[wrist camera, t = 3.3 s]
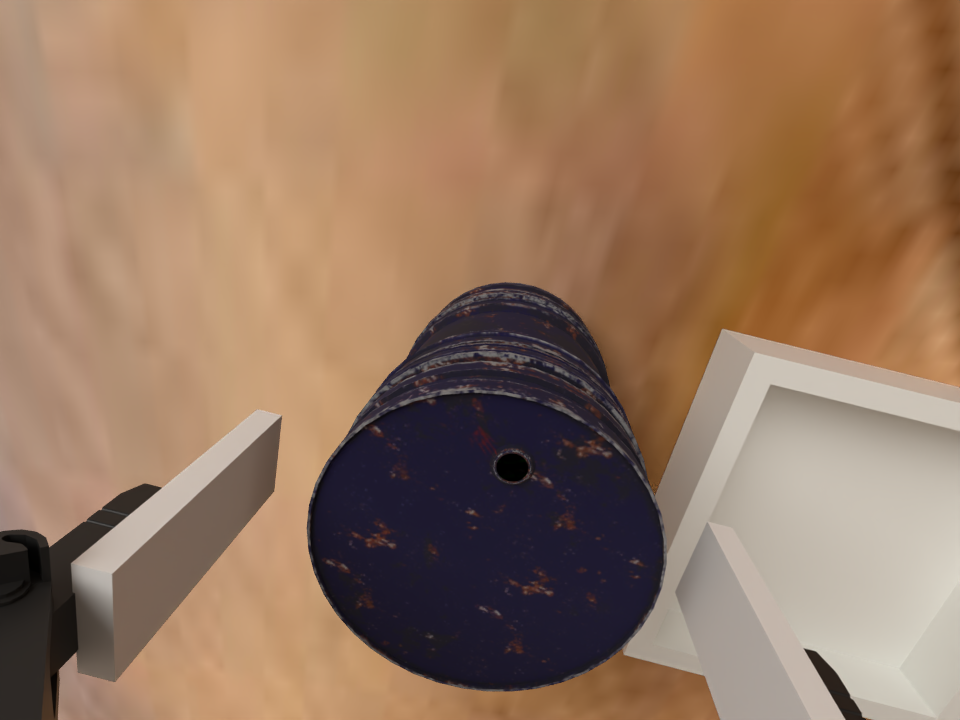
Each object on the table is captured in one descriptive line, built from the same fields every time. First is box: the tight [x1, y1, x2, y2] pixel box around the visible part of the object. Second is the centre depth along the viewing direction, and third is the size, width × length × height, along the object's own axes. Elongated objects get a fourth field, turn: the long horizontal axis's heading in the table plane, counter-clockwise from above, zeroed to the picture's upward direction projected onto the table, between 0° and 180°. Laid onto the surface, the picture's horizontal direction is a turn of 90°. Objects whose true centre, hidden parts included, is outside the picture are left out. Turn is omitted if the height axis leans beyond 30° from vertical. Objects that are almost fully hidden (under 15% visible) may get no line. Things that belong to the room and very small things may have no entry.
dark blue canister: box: [307, 282, 667, 691], centre depth 21 cm, size 10×10×15 cm
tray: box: [623, 329, 960, 720], centre depth 27 cm, size 18×18×4 cm
